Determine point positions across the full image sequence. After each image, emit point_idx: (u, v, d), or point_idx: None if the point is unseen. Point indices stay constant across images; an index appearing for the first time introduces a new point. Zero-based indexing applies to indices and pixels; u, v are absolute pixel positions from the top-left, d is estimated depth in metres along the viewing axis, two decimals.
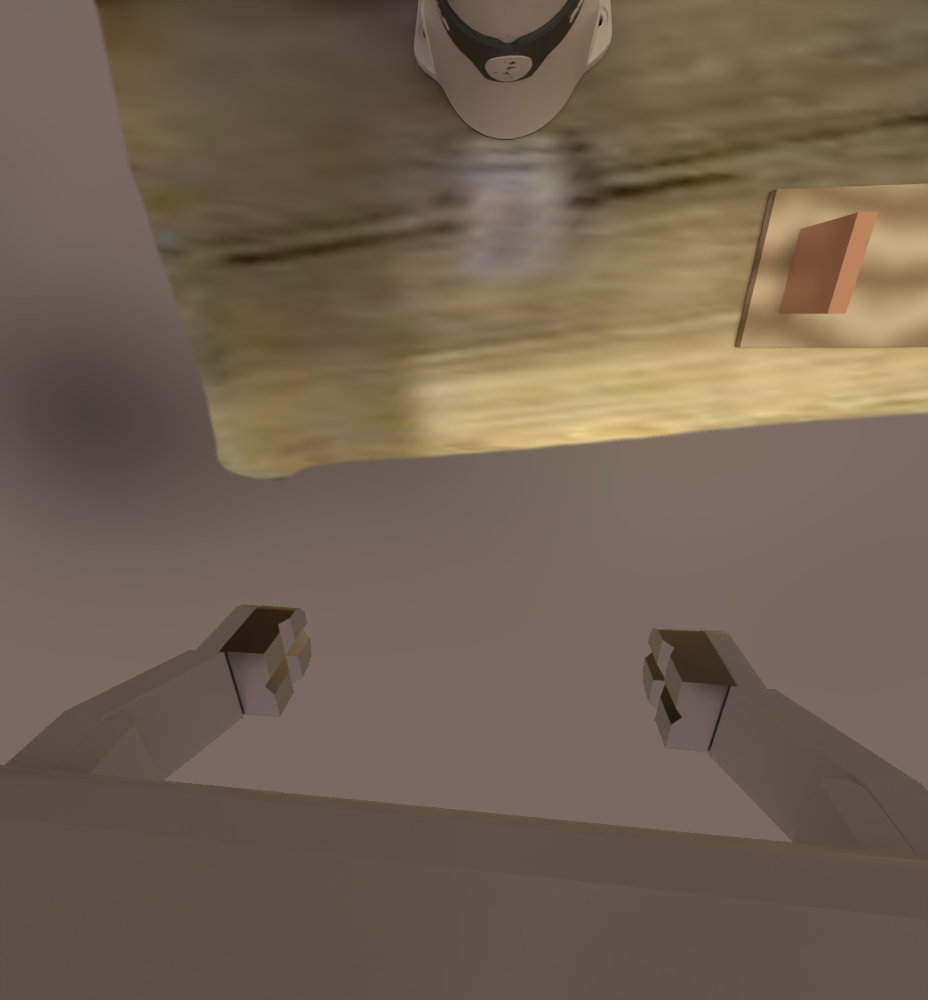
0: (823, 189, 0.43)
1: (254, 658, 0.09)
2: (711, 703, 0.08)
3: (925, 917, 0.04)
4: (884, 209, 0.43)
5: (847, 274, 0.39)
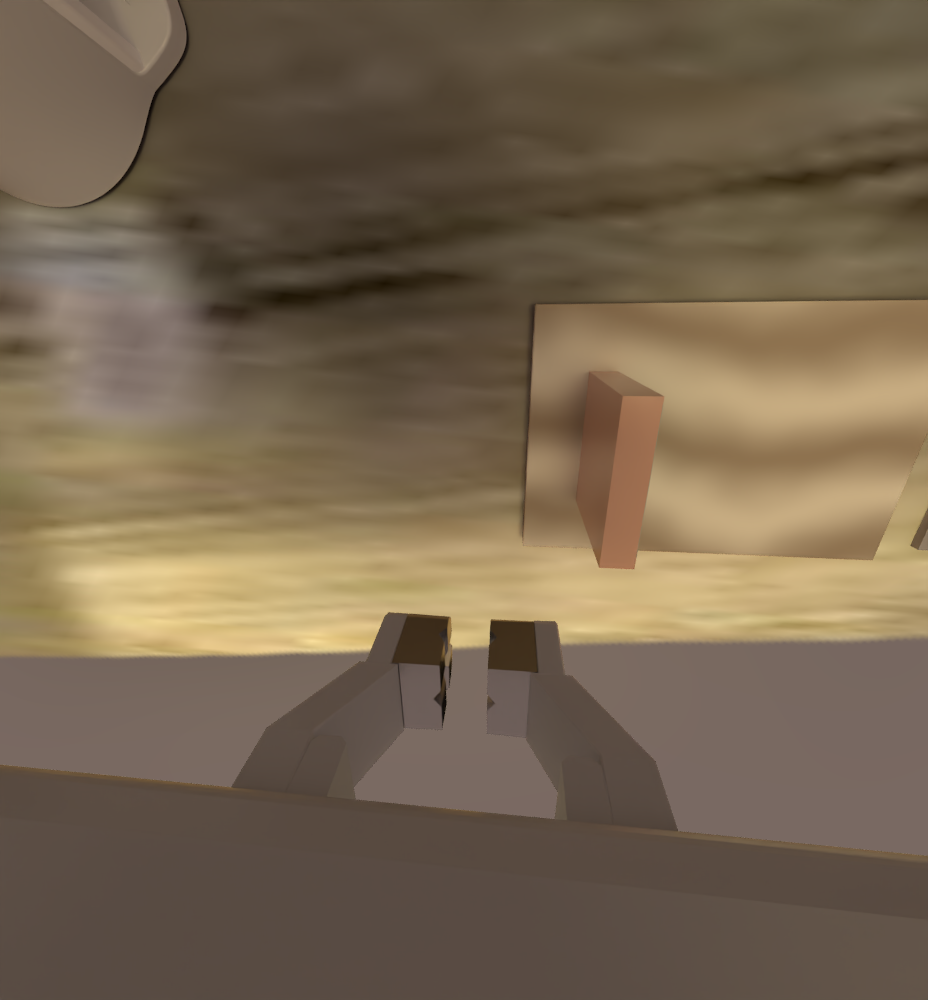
0: (618, 306, 0.23)
1: (428, 670, 0.08)
2: (518, 689, 0.08)
3: (925, 917, 0.04)
4: (733, 343, 0.23)
5: (623, 505, 0.19)
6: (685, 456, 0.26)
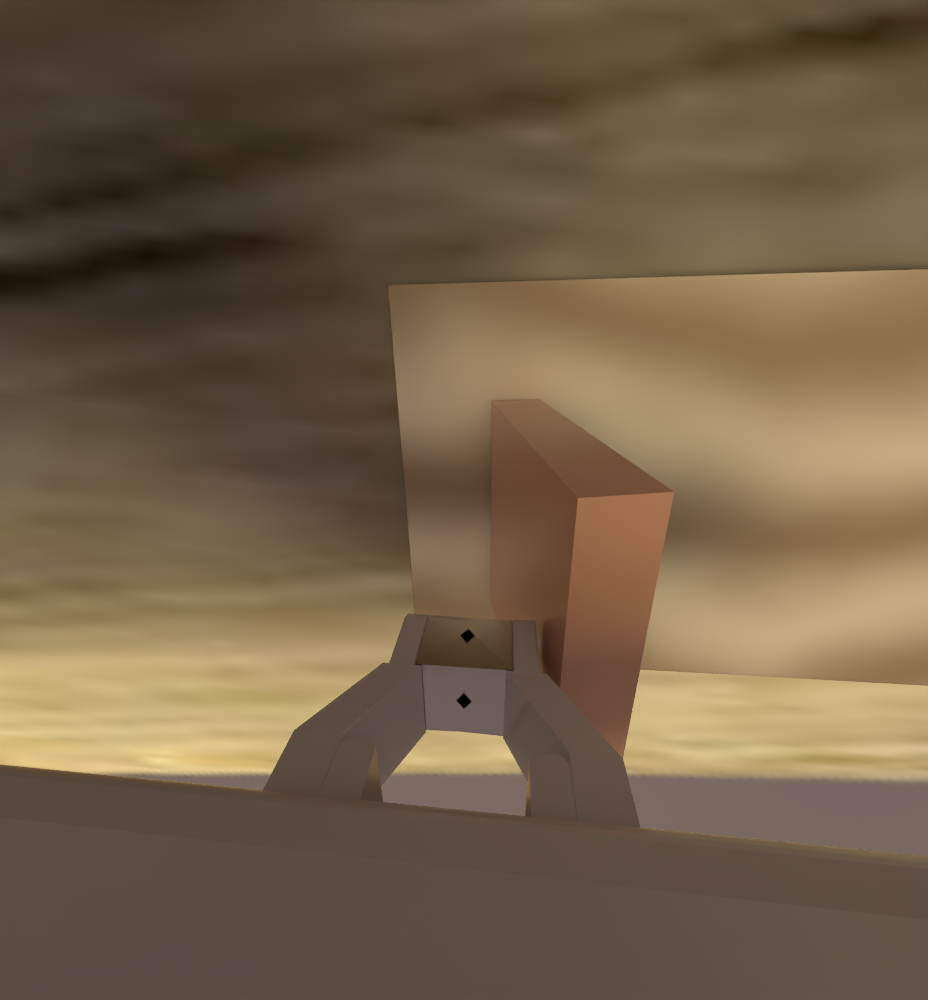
0: (531, 287, 0.13)
1: (452, 671, 0.08)
2: (494, 688, 0.08)
3: (925, 917, 0.04)
4: (736, 349, 0.13)
5: (590, 709, 0.09)
6: None
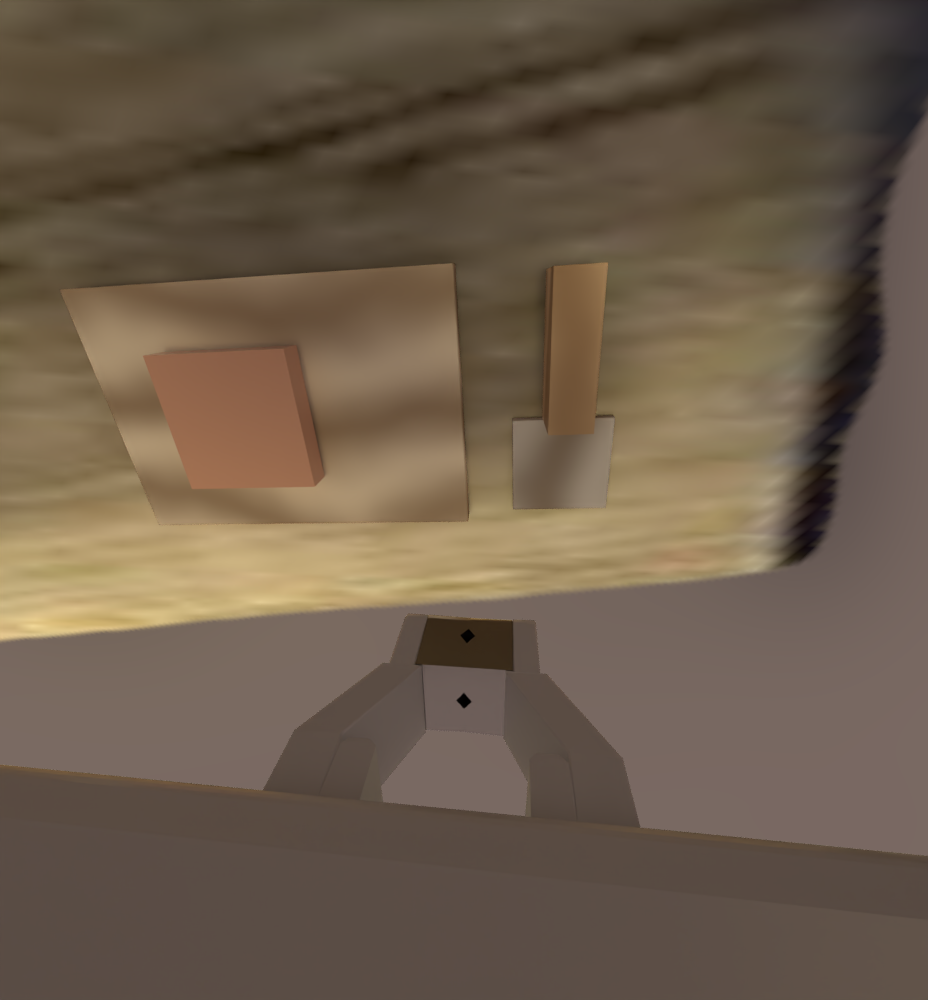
0: (134, 288, 0.23)
1: (452, 671, 0.08)
2: (494, 688, 0.08)
3: (925, 917, 0.04)
4: (251, 318, 0.24)
5: (307, 431, 0.25)
6: None
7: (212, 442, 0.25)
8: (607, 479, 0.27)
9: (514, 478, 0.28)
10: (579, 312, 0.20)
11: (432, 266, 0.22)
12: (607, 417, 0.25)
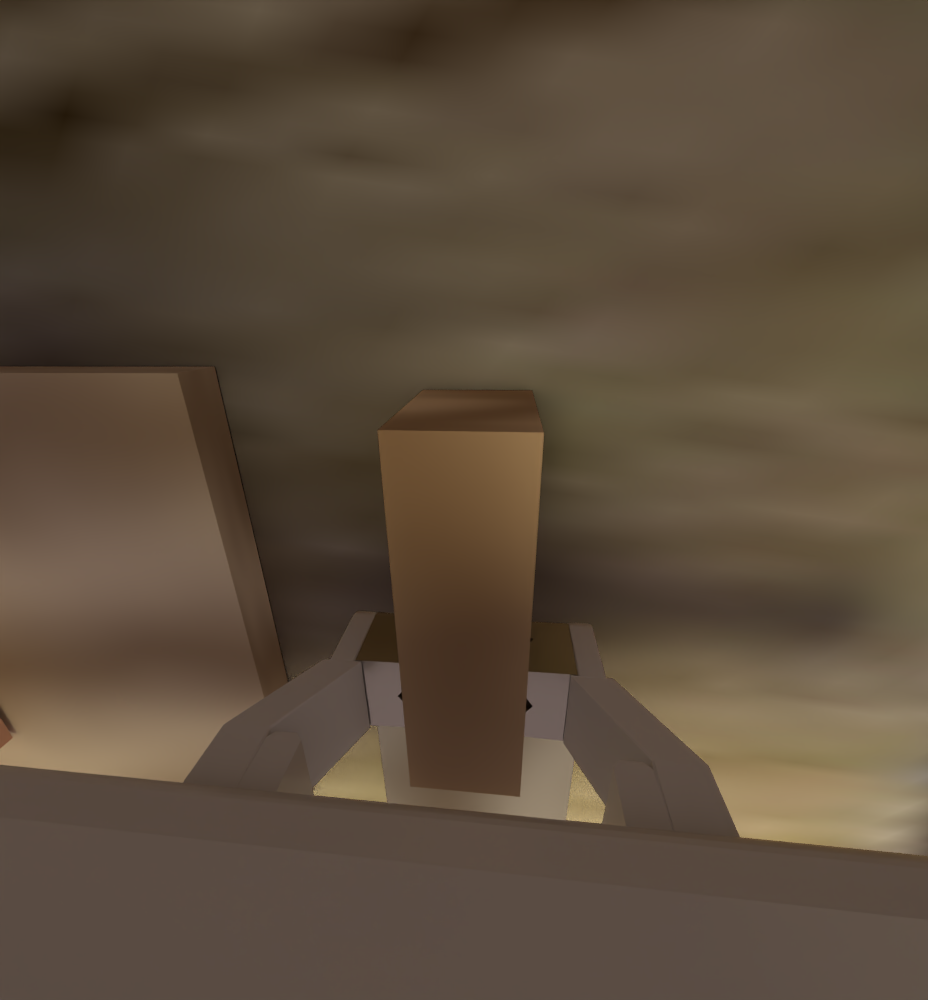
0: None
1: (392, 667, 0.08)
2: (557, 692, 0.08)
3: (925, 917, 0.04)
4: None
5: None
6: None
7: None
8: (568, 784, 0.13)
9: (385, 764, 0.14)
10: (465, 551, 0.07)
11: (130, 377, 0.09)
12: None
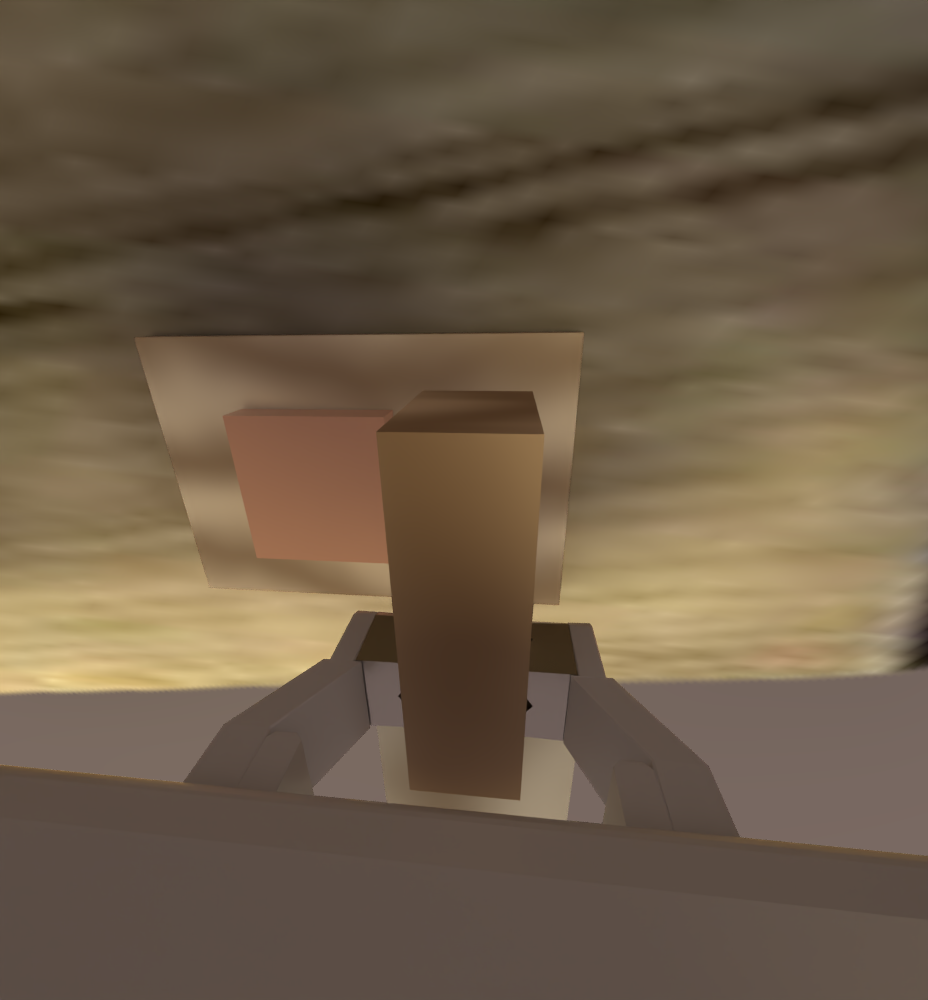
0: (217, 340, 0.21)
1: (391, 667, 0.08)
2: (557, 692, 0.08)
3: (925, 917, 0.04)
4: (345, 379, 0.21)
5: None
6: None
7: (287, 510, 0.23)
8: (568, 786, 0.13)
9: (384, 766, 0.14)
10: (465, 554, 0.07)
11: (559, 335, 0.19)
12: None
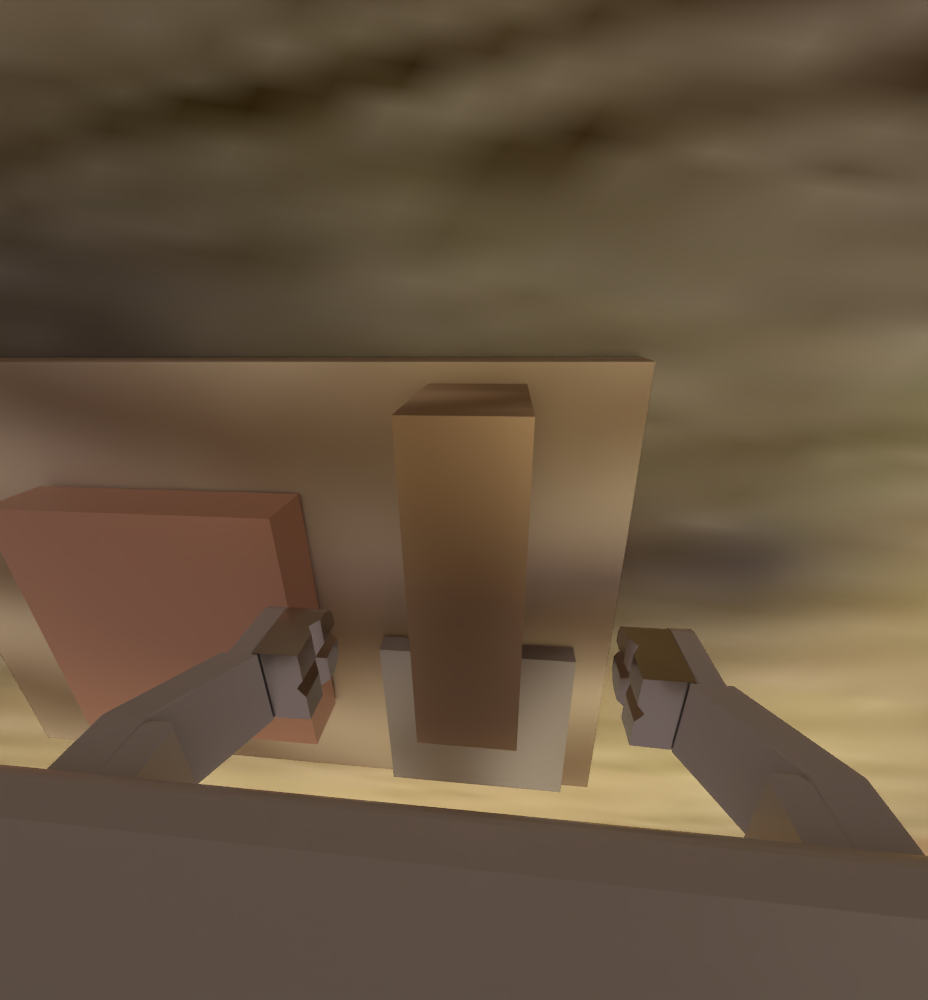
0: None
1: (287, 660, 0.09)
2: (672, 700, 0.08)
3: (925, 917, 0.04)
4: (211, 439, 0.12)
5: None
6: None
7: (124, 660, 0.13)
8: (562, 752, 0.14)
9: (391, 734, 0.15)
10: (467, 522, 0.08)
11: (607, 365, 0.10)
12: (561, 658, 0.13)
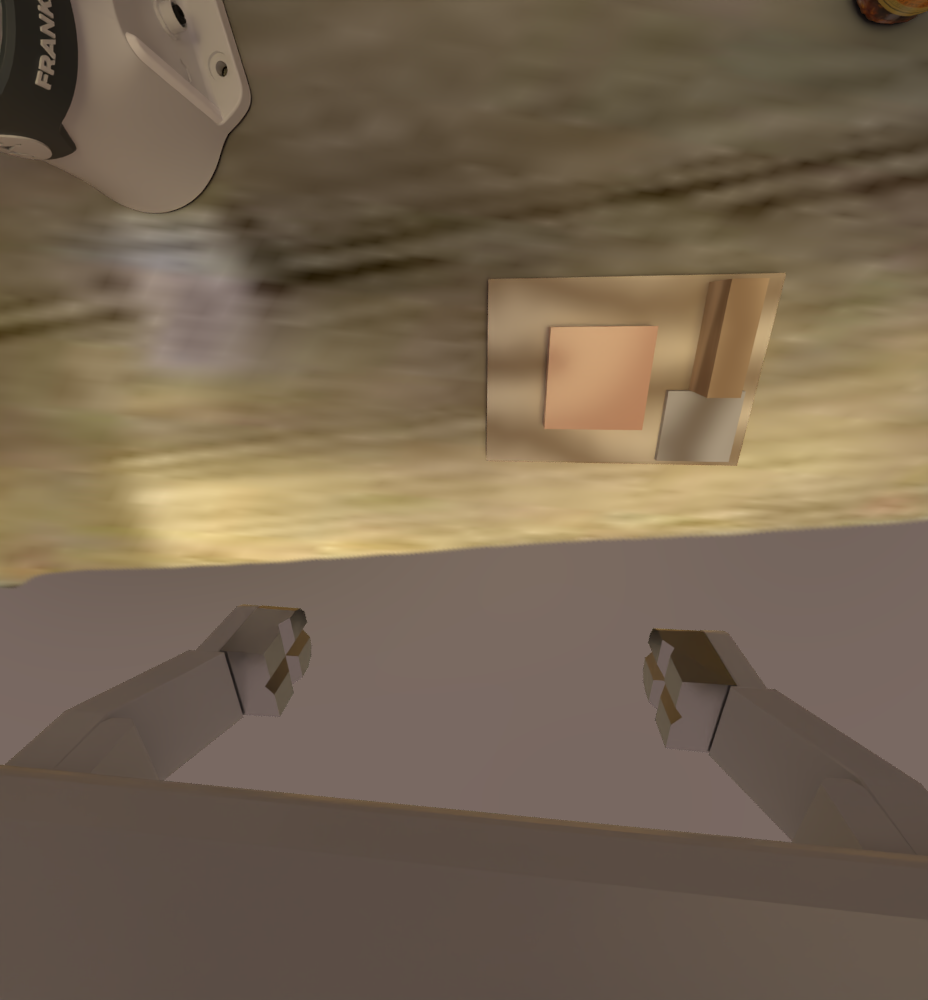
0: (544, 280, 0.33)
1: (254, 658, 0.09)
2: (711, 703, 0.08)
3: (925, 917, 0.04)
4: (624, 305, 0.34)
5: None
6: None
7: (576, 393, 0.35)
8: (733, 439, 0.36)
9: (661, 436, 0.37)
10: (744, 310, 0.30)
11: (770, 274, 0.32)
12: None
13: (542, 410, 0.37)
